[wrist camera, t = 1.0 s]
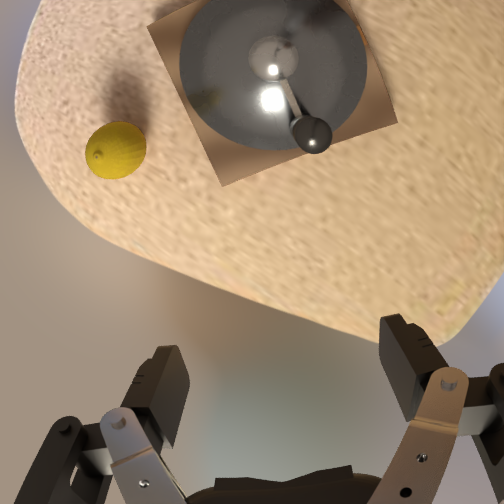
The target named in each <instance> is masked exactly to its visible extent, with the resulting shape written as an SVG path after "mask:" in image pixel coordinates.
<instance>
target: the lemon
mask: <svg viewBox="0 0 504 504" xmlns="http://www.w3.org/2000/svg"><path fill="white" fill-rule="evenodd" d="M145 154H146V140H145V138H144V135H143V134H142V132H141V131H140V129H138V128H137V127H136V126H135V125H133V124H130V123H128V122H121V121H118V122H111V123H109V124H106V125H104V126H102V127H100V128H99V129H98V130H97V131H96V132H94V133H93V135H92V136H91V137H90V139H89V140H88V143H87V145H86V151H85V157H86V162H87V164H88V166H89V168H90V169H91V171H92V172H93V173H94V174H96V175H97V176H99V177H101V178H104V179H119V178H123V177H126V176H128V175H129V174H131V173H133V172H134V171H135V170H136V169H137V168H138V167H139V166H140V165H141V163H142V162H143V160H144V157H145Z"/></svg>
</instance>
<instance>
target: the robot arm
mask: <svg viewBox="0 0 504 504" xmlns="http://www.w3.org/2000/svg"><path fill="white" fill-rule="evenodd" d="M379 356H380V360H381V364H382V366H383V368H384V371H385V373H386V375H387V377H388V379H389V382H390V384H391V386H392V389H393V391H394V393H395V396H396V398H397V400H398V403H399V405H400V407H401V410H402V412H403V415H404V417H405V419H406V422H409V421H411V422H410V424H409V426H408V428H407V430H406V433H405V435H404V437H403V439H402V441H401V443H400V445H399V447H398V449H397V451H396V453H395V455H394V457H393V459H392V461H391V463H390V465H389V467H388V469H387V471H386V472H385V474H384V476H383V478H379V477H376V476H372V475H367V474H359V473H357V474H356V473H353V471H352V466H351V465H348V466H343V467H337V468H332V469H326V470H319V471H315V472H313V473H310V474H307V475H304V476H301V477H298V478H295V479H292V480H289V481H285V482H277V481H268V480H262V479H255V478H249V477H244V478H215V485H214V487H210V488H207V489H203V490H201V491H198V492H196V493H194V494H192V495H191V496H189V497H188V496H187V495H186V494H185V492H184V491H183V489H182V488H181V487H180V485H179V484H178V482H177V480H176V479H175V478H174V476H173V474H172V473H171V471H170V470H169V468H168V467H167V465H166V463H165V462H164V460H163V458H162V457H161V455H160V453H161V450H162V448H169V449H171V448H172V449H173V446H174V442H175V438H176V434H177V431H178V427H179V423H180V420H181V416H182V413H183V409H184V405H185V402H186V398H187V394H188V391H189V387H190V380H189V375H188V372H187V369H186V366H185V364H184V361H183V358H182V356H181V353H180V350H179V348H178V346H177V345H169V346H159V347H157V349H156V351H155V353H154V355H153V358H152V359H147V360H146V361H145V362H144V363H143V364H142V365H141V366H140V367H139V369H138V371H137V373H136V375H135V376H136V377H134V379H133V381H132V384H131V385H130V387H129V389H128V392H127V393H126V396H125V398H124V400H123V402H122V404H121V406H120V407H119V408H115V409H112V410H110V411H109V412H107V413H106V414H105V415H104V416H103V417H102V419H101V421H100V423H94V424H89V425H82V423H81V422H80V421H79V419H78V418H76V417H73V416H66V417H63V418H61V419H59V420H57V421H56V422H55V423H54V424H53V426H52V427H51V429H50V431H49V433H48V435H47V436H46V438H45V440H44V442H43V444H42V446H41V448H40V450H39V452H38V454H37V456H36V458H35V460H34V462H33V464H32V466H31V468H30V470H29V472H28V474H27V476H26V478H25V480H24V482H23V485H22V487H21V489H20V491H19V493H18V495H17V498H16V500H15V502H14V504H104V503H105V500H106V496H107V492H108V490H109V486H110V483H111V480H112V476H113V475H114V477H115V480H116V482H117V485H118V487H119V489H120V491H121V494H122V496H123V498H124V500H125V503H126V504H432V501H433V499H434V497H435V495H436V492H437V490H438V487H439V485H440V483H441V480H442V477H443V475H444V472H445V469H446V467H447V464H448V461H449V458H450V456H451V452H452V449H453V446H454V443H455V440H456V437H457V436H467V435H471V436H472V438H473V440H474V443H475V445H476V447H477V450H478V452H479V454H480V457H481V459H482V462H483V464H484V466H485V469H486V471H487V474H488V477H489V479H490V482H491V485H492V487H493V490H494V493H495V495H496V498H497V501H498V504H504V363H500V364H498V365H496V366H494V367H493V368H492V370H491V372H490V375H489V376H487V377H474V378H469V377H467V375H466V374H465V373H464V372H463V371H462V370H460V369H457V368H454V367H449V366H448V364H447V363H446V361H445V360H444V358H443V357H442V355H441V354H440V352H439V351H438V349H437V348H436V347H435V345H433V342H432V341H431V339H430V338H429V337H428V335H427V334H426V332H425V331H424V330H423V329H422V328H421V327H419V326H417V325H416V324H414V323H411V324H407V323H406V322H405V320H404V319H403V317H402V316H401V315H400V314H399V313H398V314H394V315H389V316H384V317H381V319H380V334H379ZM75 466H76V467H77V468H78V469H77V472H76V475H75V477H74V480H73V482H72V485H71V486H70V478H71V475H72V473H73V470H74V468H75Z"/></svg>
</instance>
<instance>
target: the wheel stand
mask: <svg viewBox="0 0 504 504" xmlns="http://www.w3.org/2000/svg"><path fill="white" fill-rule="evenodd" d="M209 1H211V0H197V1H195V2H193V3H191V4H189V5H186V6H184V7H182V8H180V9H178V10H176V11H174V12H172V13H170V14H169V15H167V16H165V17H163V18H161V19H159V20H157V21H155V22H154V23H152V24H150V25H148V26H147V29H148V31H149V33H150V35H151V37H152V39H153V41H154V43H155V46H156V48H157V50H158V52H159V54H160V56H161V58H162V60H163V62H164V65H165V67H166V69H167V71H168V73H169V75H170V77H171V79H172V81H173V84H174V86H175V88H176V90H177V92H178V94H179V96H180V98H181V101H182V103H183V105H184V107H185V109H186V111H187V113H188V115H189V117H190V120H191V122H192V124H193V126H194V128H195V130H196V132H197V134H198V137H199V139H200V141H201V143H202V145H203V147H204V149H205V151H206V153H207V156H208V158H209V160H210V162H211V164H212V166H213V168H214V170H215V173H216V175H217V177H218V179H219V181H220V183H221V185H222V187H224V186H226V185H228V184H231V183H233V182H236V181H238V180H240V179H243V178H245V177H248V176H250V175H253V174H255V173H258V172H260V171H263V170H265V169H268V168H270V167H273V166H276V165H278V164H281V163H283V162H286V161H289V160H291V159H294V158H296V157H299V156H302V155H305V154H307V152H305V151H303V150H302V149H301V148H300V147H299V148H294V149H288V150H262V149H256V148H251V147H247V146H244V145H241V144H238V143H236V142H234V141H231V140H229V139H227V138H225V137H224V136H222V135H220V134H219V133H217V132H216V131H214V130H213V129H212V128H211V127H209V126H208V125H207V124H206V123H205V122H204V121H203V120H202V119H201V118H200V117H199V116H198V114H197V113H196V112H195V110H194V109H193V108H192V106H191V104H190V102H189V101H188V99H187V97H186V94H185V92H184V89H183V86H182V82H181V78H180V70H179V57H180V50H181V45H182V41H183V38H184V35H185V33H186V31H187V29H188V27H189V25H190V23H191V21H192V20H193V19H194V17H195V16H196V14H197V13H198V12H199V11H200V10H201V9H202V8H203V7H204V6H205V5H206V4H207V3H208V2H209ZM333 1H334V2H336V3H337V4H338V5H339V6H340V7H341V8H342V9H343V10H344V11H345V12H346V13H347V14H348V15H349V17H350V18H351V19H352V21H353V22H354V24H355V25H356V27H357V29H358V31H359V33H360V35H361V38H362V40H363V43H364V47H365V51H366V56H367V78H366V83H365V88H364V91H363V94H362V96H361V99H360V101H359V103H358V105H357V106H356V108H355V110H354V111H353V112H352V114H351V115H350V117H349V118H348V119H347V120H346V121H345V122H344V123H343V124H342V125H341V126H340V127H339V128H338V129H336V130H335V131H334V132H333V133H332V134H333V138H332V142H331V144H330V145H332V144H335V143H338V142H341V141H344V140H347V139H350V138H353V137H356V136H358V135H361V134H365V133H368V132H371V131H374V130H377V129H380V128H383V127H386V126H389V125H393V124H396V123H398V121H397V118H396V115H395V112H394V109H393V106H392V103H391V100H390V97H389V95H388V92H387V89H386V87H385V84H384V81H383V79H382V76H381V74H380V71H379V69H378V66H377V64H376V61H375V59H374V56H373V54H372V52H371V49H370V47H369V45H368V43H367V40H366V38H365V36H364V34H363V32H362V30H361V27H360V25H359V23H358V21H357V19H356V17H355V15H354V13H353V11H352V9H351V7H350V5H349V3H348V2H347V0H333Z"/></svg>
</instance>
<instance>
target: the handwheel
mask: <svg viewBox="0 0 504 504" xmlns="http://www.w3.org/2000/svg"><path fill="white" fill-rule="evenodd" d="M179 70H180V78H181V82H182V86H183V89H184V92H185V94H186V97H187V99H188V101H189V102H190V104H191V106H192V108H193V109H194V110H195V112H196V113H197V114H198V116H199V117H200V118H201V119H202V120H203V121H204V122H205V123H206V124H207V125H208V126H209V127H211V128H212V129H213V130H214V131H216V132H217V133H219V134H220V135H222V136H224V137H225V138H227V139H229V140H231V141H234V142H236V143H238V144H241V145H244V146H247V147H251V148H256V149H262V150H288V149H294V148H299V147H300V148H301V149H302V150H303V151H305V152H307V153H310V154H318V153H322V152H324V151H325V150H326V149H327V148H328V147H329V146H330V144H331V142H332V138H333V134H332V133H333V132H334V131H335V130H336V129H338V128H339V127H340V126H341V125H342V124H343V123H344V122H345V121H346V120H347V119H348V118H349V117H350V115H351V114H352V112H353V111H354V110H355V108H356V106H357V105H358V103H359V101H360V99H361V96H362V94H363V91H364V88H365V83H366V78H367V56H366V51H365V47H364V43H363V40H362V38H361V35H360V33H359V31H358V29H357V27H356V25H355V24H354V22H353V21H352V19H351V18H350V17H349V15H348V14H347V13H346V12H345V11H344V10H343V9H342V8H341V7H340V6H339V5H338V4H337V3H336V2H334V1H333V0H211V1H209V2H208V3H207V4H206V5H205V6H204V7H203V8H202V9H201V10H200V11H199V12H198V13H197V14H196V16H195V17H194V19H193V20H192V21H191V23H190V25H189V27H188V29H187V31H186V33H185V35H184V38H183V41H182V45H181V50H180V57H179Z"/></svg>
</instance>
